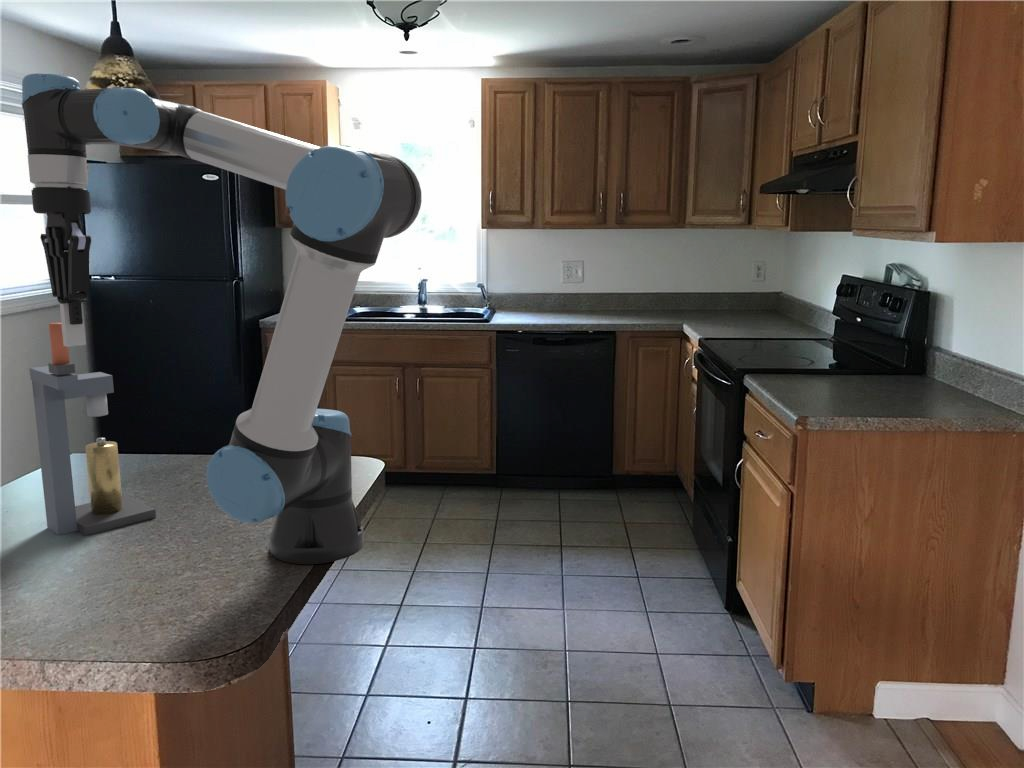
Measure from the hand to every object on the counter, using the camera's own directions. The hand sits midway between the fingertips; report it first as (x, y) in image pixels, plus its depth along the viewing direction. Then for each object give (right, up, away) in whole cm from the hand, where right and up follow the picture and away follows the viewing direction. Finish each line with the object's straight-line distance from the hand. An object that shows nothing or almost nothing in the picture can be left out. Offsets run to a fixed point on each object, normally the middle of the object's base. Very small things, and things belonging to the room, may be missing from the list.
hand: (74, 345), depth 123 cm
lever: (-5, -4, +5) cm, 9 cm away
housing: (-5, -28, +21) cm, 36 cm away
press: (-5, -30, +19) cm, 36 cm away
